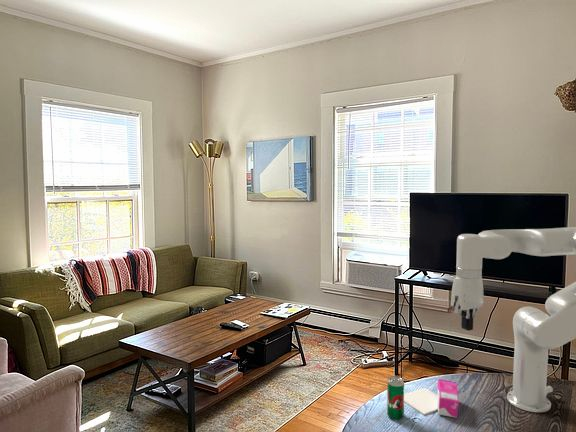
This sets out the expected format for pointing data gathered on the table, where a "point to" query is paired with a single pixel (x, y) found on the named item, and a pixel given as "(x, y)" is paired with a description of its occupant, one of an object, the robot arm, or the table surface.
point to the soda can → (395, 398)
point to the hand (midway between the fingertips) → (467, 328)
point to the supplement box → (447, 398)
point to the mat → (422, 401)
